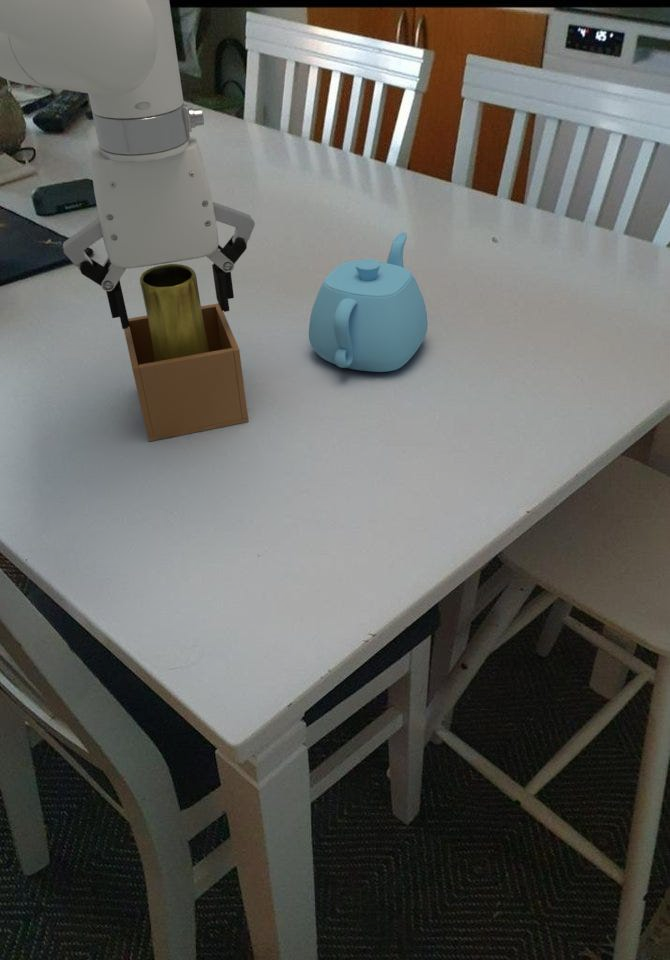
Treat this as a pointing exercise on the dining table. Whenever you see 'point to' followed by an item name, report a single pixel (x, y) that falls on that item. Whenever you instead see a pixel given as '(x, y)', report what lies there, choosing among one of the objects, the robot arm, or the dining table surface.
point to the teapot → (369, 314)
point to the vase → (173, 311)
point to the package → (188, 380)
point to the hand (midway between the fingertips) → (174, 313)
